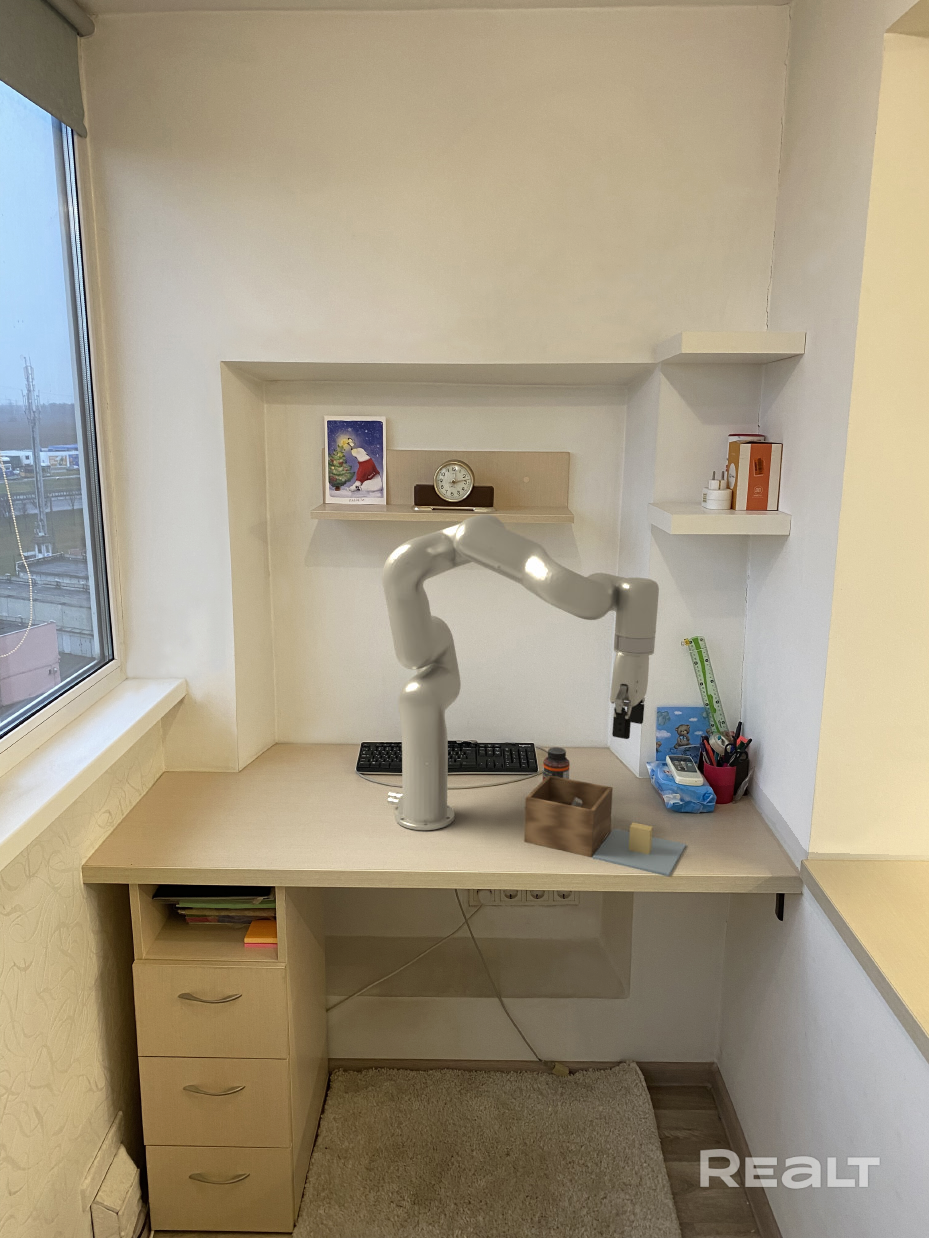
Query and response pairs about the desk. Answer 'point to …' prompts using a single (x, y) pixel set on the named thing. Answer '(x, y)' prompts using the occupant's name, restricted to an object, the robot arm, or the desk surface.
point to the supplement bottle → (556, 763)
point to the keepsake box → (568, 815)
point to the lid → (640, 850)
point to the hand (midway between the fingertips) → (627, 729)
